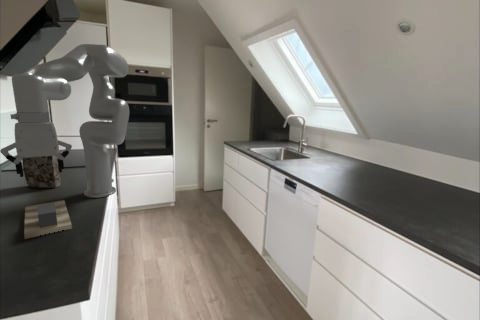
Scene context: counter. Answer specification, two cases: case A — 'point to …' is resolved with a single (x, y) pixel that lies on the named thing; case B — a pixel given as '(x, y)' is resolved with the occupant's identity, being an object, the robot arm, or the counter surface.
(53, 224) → the sanding sponge
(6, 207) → the counter surface
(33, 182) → the stone block
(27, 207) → the birch board
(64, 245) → the counter surface
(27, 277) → the counter surface
